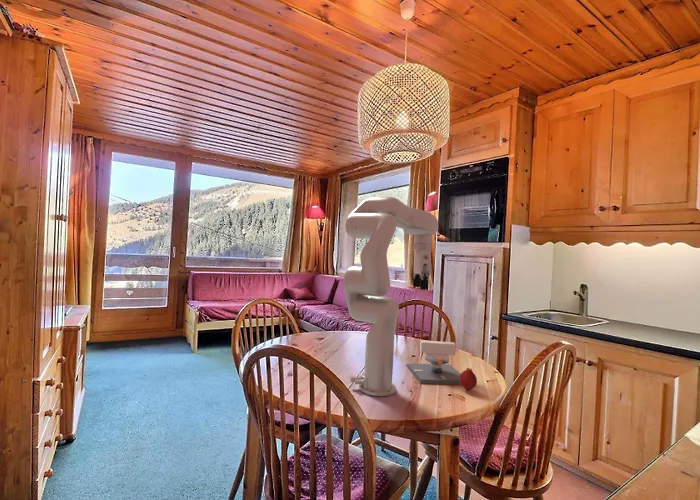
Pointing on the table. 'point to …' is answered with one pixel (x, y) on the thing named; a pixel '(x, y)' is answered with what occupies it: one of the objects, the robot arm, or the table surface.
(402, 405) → the table surface
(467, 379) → the onion
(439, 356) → the cap
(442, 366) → the base
